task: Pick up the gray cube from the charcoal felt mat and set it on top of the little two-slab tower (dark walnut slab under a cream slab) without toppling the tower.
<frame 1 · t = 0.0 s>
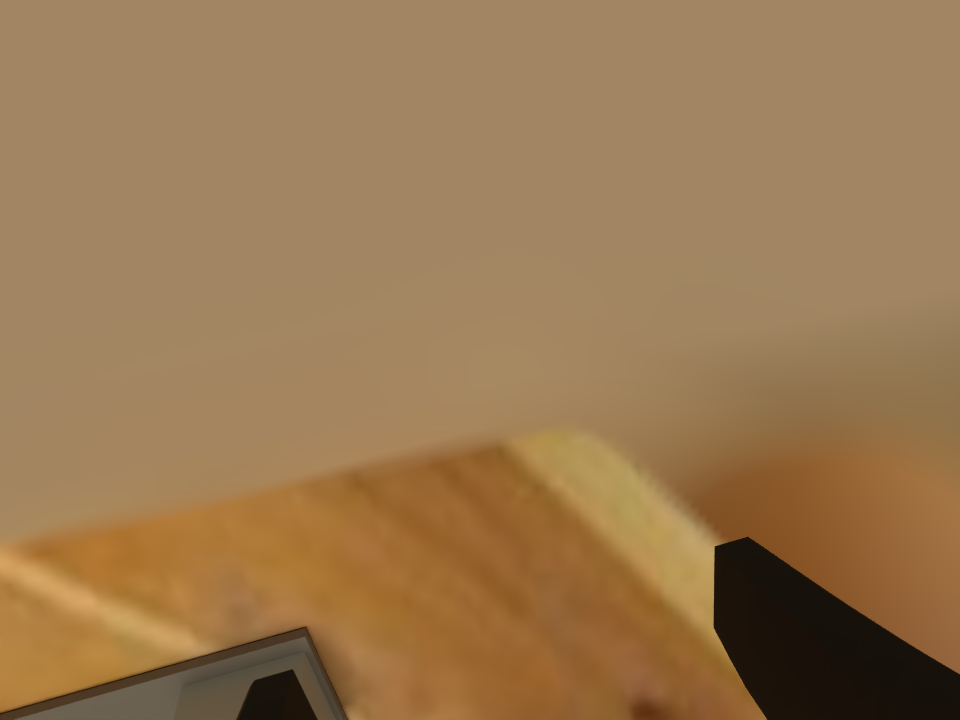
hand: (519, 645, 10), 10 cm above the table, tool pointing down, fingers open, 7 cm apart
gray cube: (264, 706, 23), resting on felt mat
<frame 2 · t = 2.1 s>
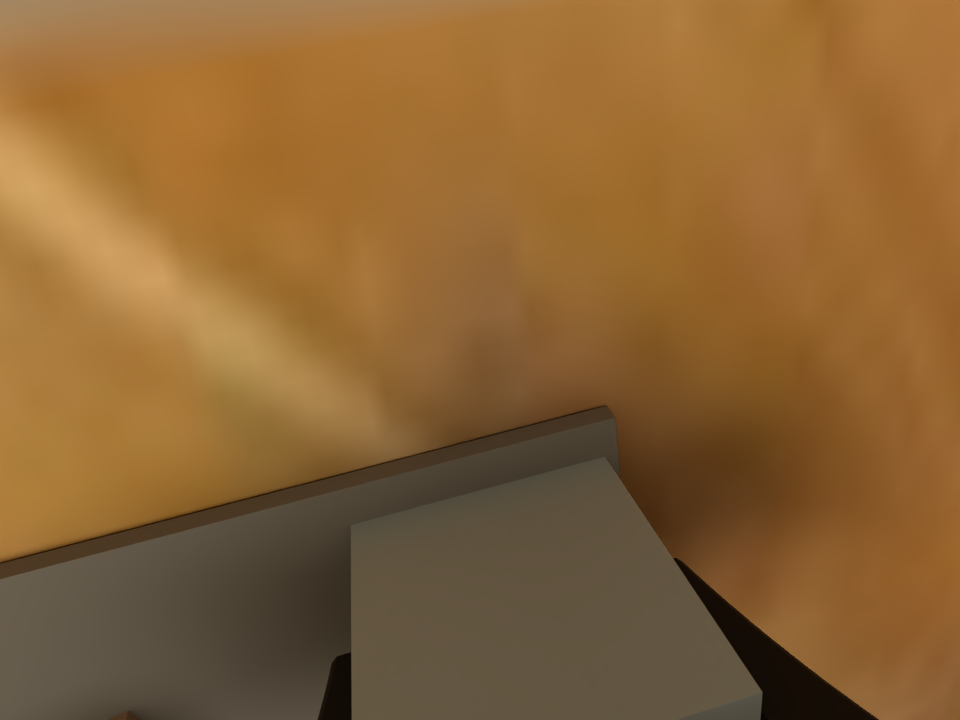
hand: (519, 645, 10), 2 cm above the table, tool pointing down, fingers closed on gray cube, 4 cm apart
gray cube: (500, 582, 11), resting on felt mat, touching gripper
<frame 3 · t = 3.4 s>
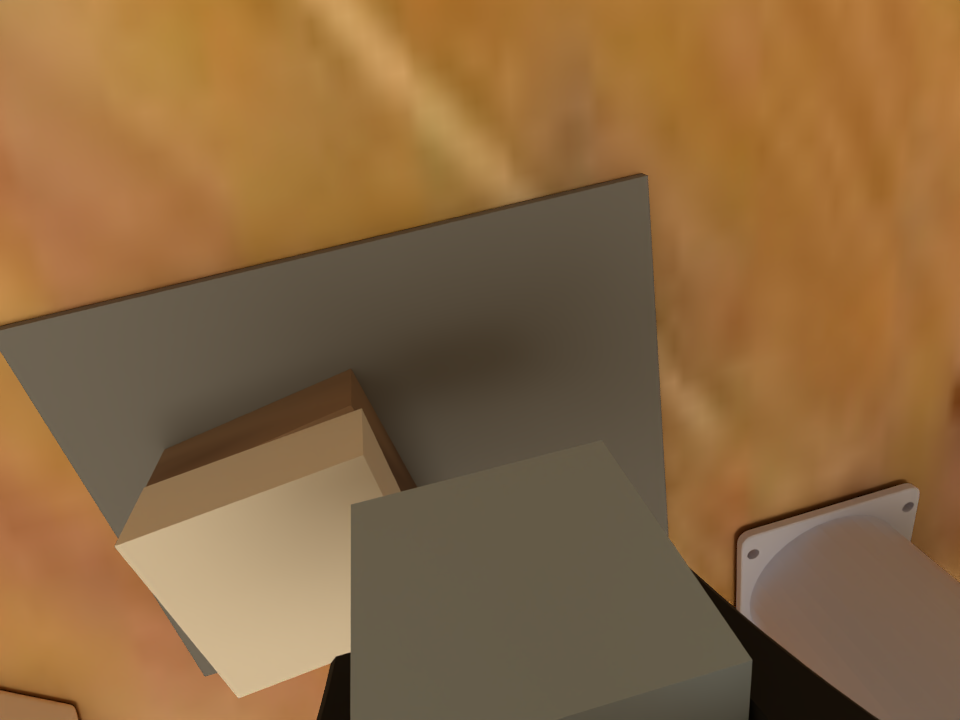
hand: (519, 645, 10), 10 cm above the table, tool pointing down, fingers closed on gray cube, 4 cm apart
felt mat: (397, 450, 20), on the table
gray cube: (498, 564, 11), point 8 cm above the table, touching gripper
walnut slab: (306, 482, 19), resting on felt mat, touching cream slab
cream slab: (301, 528, 17), point 3 cm above the table, touching walnut slab
when the fingers open (7 cm above the table, at t = 5.0 s): gray cube stays where it is, resting on cream slab.
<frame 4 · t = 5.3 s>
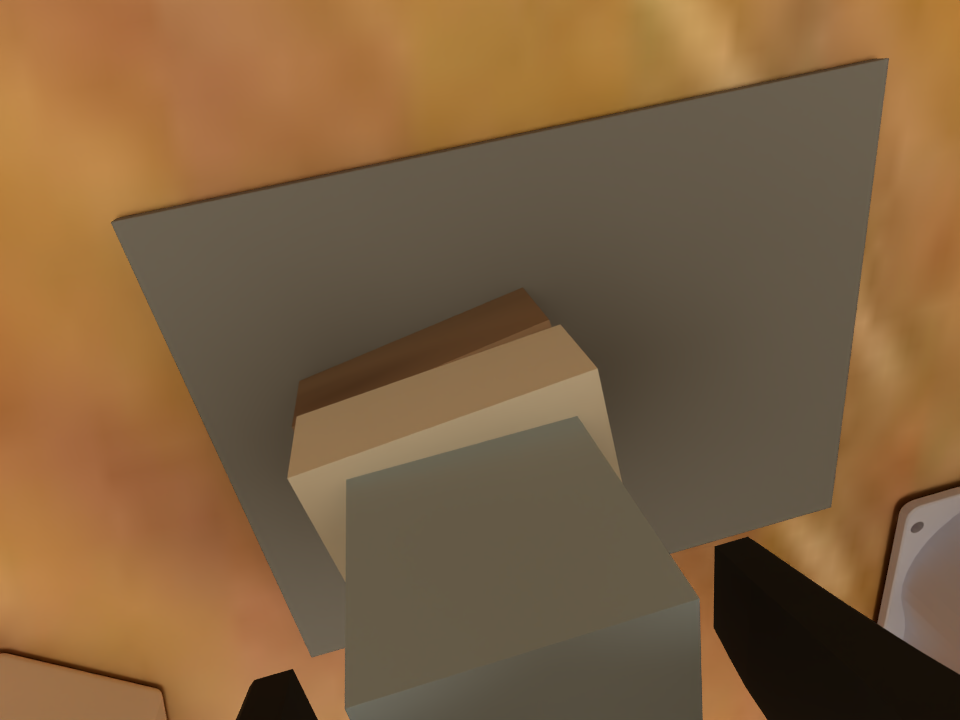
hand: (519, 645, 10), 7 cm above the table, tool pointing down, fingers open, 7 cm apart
felt mat: (555, 393, 17), on the table
gray cube: (485, 535, 12), point 5 cm above the table, touching cream slab
walnut slab: (454, 426, 16), resting on felt mat, touching cream slab
cream slab: (469, 474, 14), point 3 cm above the table, touching gray cube, walnut slab
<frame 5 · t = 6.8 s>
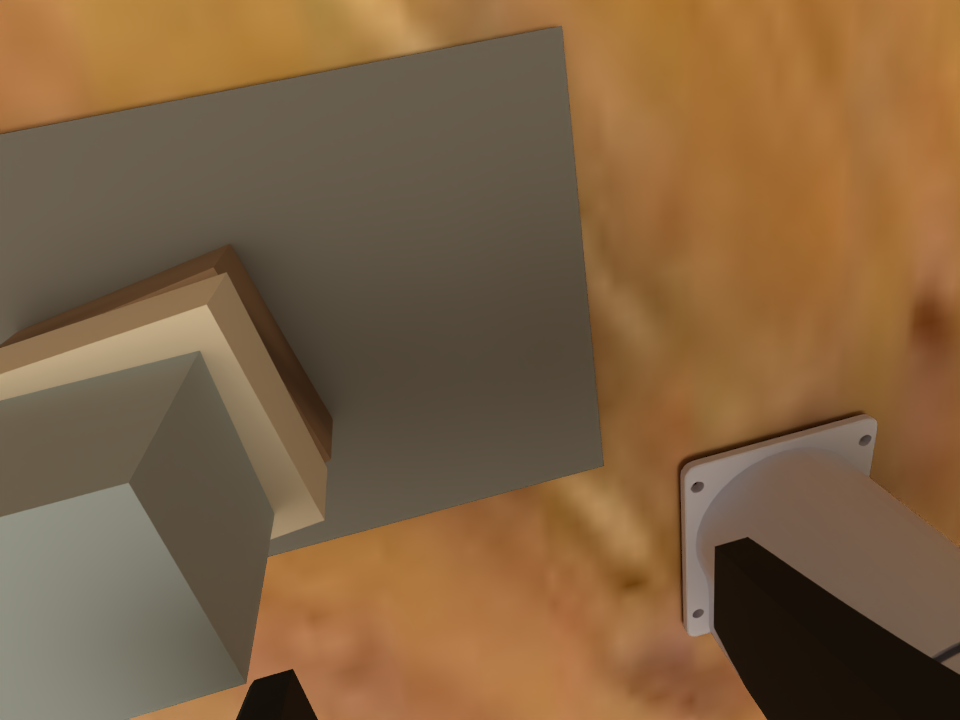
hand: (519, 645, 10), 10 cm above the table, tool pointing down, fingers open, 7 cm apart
felt mat: (294, 348, 18), on the table
gray cube: (137, 466, 13), point 5 cm above the table, touching cream slab
walnut slab: (188, 379, 17), resting on felt mat, touching cream slab
cream slab: (168, 418, 15), point 3 cm above the table, touching gray cube, walnut slab
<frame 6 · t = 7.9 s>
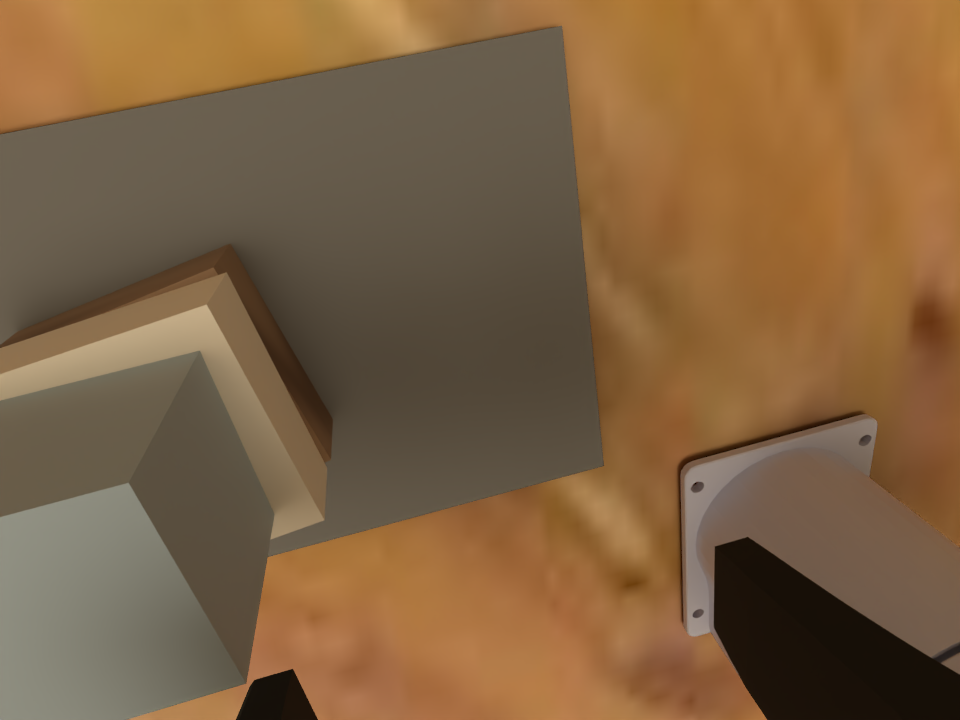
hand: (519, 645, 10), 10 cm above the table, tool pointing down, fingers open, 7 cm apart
felt mat: (294, 348, 18), on the table
gray cube: (137, 466, 13), point 5 cm above the table, touching cream slab
walnut slab: (188, 379, 17), resting on felt mat, touching cream slab
cream slab: (168, 418, 15), point 3 cm above the table, touching gray cube, walnut slab
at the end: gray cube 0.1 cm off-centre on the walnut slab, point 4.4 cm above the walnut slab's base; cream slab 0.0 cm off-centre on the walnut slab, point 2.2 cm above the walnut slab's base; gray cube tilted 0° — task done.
